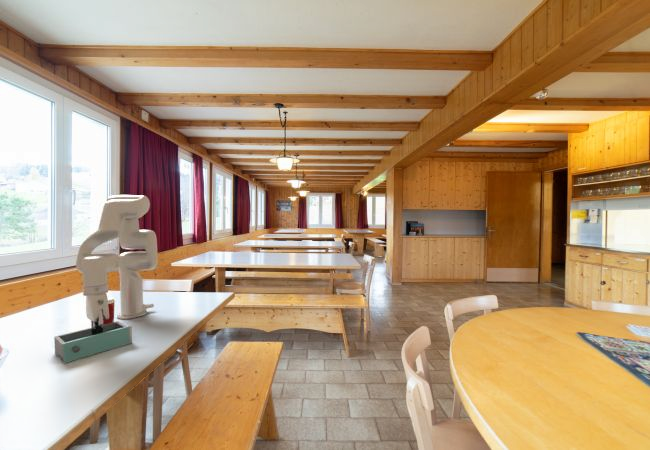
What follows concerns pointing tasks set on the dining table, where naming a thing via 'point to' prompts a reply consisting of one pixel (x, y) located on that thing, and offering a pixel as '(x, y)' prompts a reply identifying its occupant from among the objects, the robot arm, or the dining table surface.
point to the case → (80, 336)
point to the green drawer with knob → (96, 343)
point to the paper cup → (110, 311)
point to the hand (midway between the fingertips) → (97, 338)
